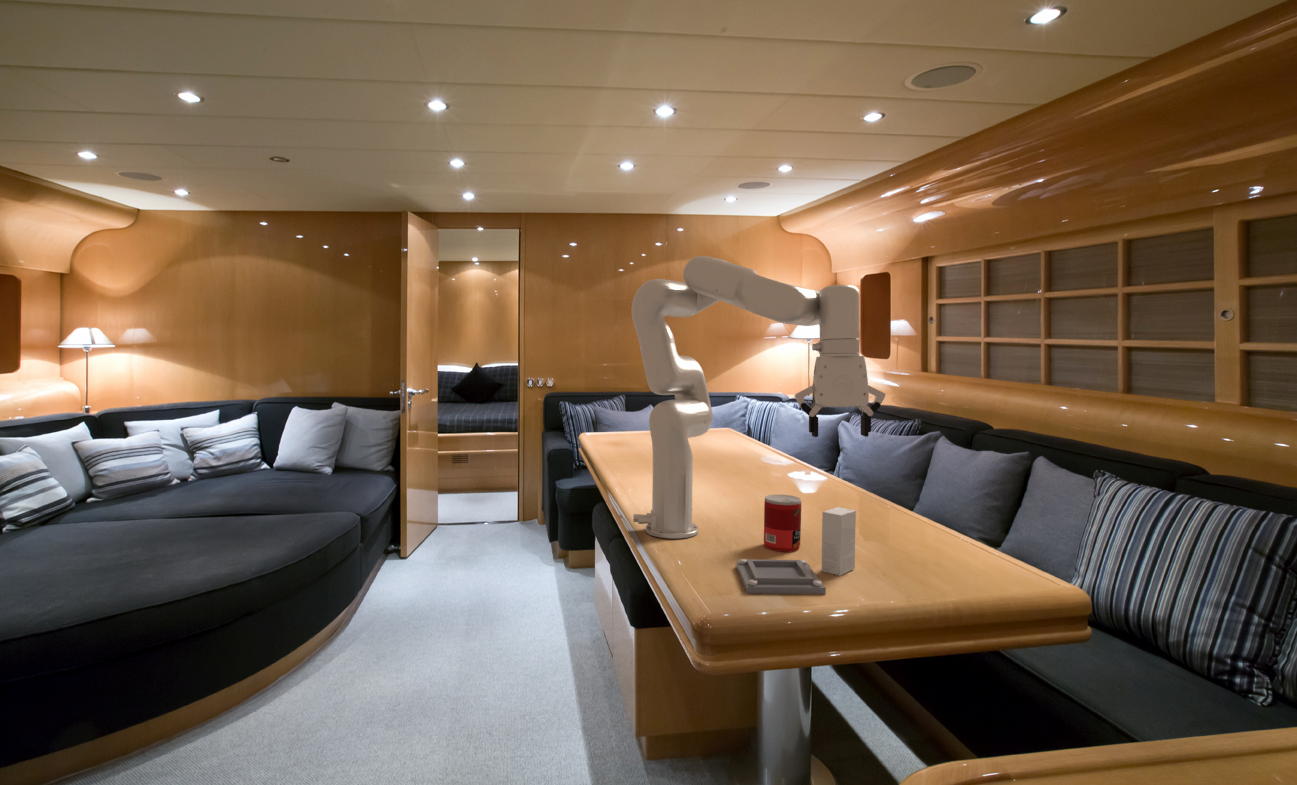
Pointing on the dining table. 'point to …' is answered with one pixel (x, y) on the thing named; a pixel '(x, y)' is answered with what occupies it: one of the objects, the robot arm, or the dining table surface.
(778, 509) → the canned food
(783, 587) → the plate
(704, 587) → the dining table surface
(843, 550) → the skincare box
